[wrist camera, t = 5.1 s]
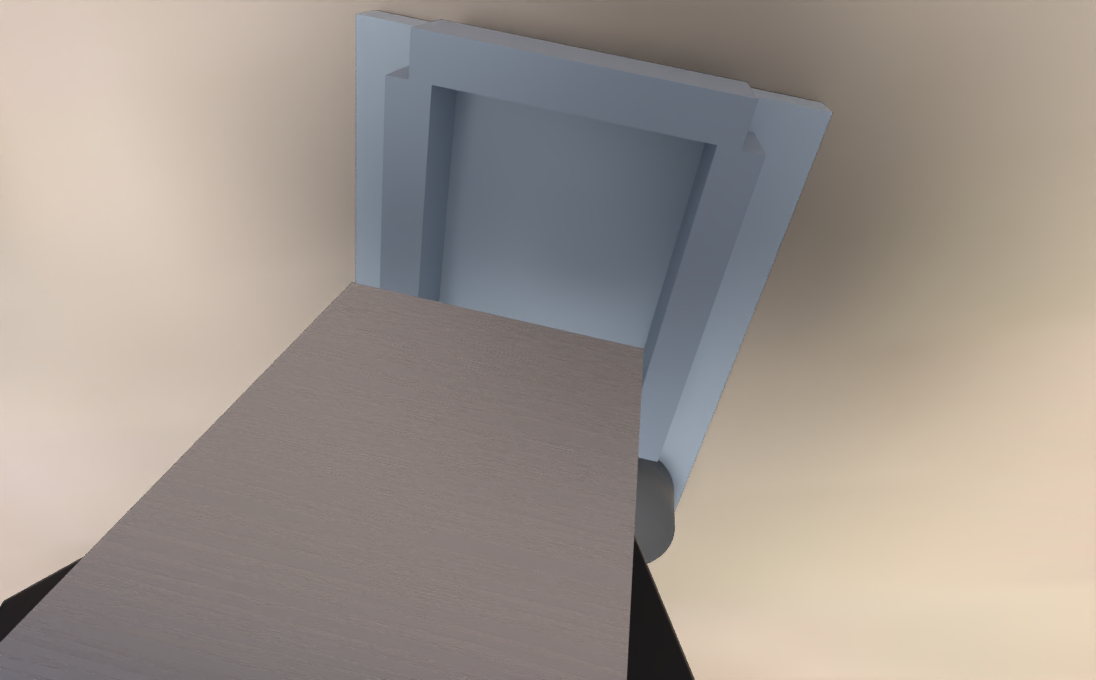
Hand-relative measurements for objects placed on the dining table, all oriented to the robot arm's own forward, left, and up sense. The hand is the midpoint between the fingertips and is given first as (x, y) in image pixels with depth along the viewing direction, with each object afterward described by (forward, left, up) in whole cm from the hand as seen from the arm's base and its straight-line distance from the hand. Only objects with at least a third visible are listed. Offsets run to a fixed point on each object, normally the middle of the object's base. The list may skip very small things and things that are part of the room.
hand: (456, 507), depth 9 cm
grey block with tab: (0, 0, -1) cm, 1 cm away
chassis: (-3, 0, -10) cm, 11 cm away
